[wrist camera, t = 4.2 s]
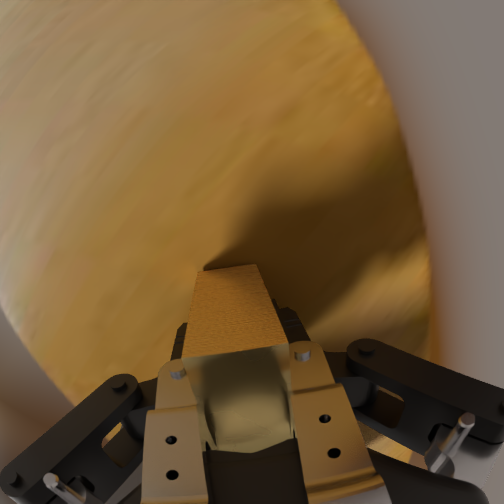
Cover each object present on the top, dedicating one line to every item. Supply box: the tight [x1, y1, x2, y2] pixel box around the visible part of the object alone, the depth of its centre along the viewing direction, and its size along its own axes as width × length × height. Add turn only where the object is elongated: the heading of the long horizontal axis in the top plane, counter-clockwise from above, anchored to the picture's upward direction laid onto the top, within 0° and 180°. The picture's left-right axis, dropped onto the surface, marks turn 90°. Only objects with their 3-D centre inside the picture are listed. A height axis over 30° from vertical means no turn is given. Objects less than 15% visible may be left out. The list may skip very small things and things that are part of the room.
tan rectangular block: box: [181, 263, 291, 453], centre depth 10 cm, size 5×2×6 cm, turn 7°
